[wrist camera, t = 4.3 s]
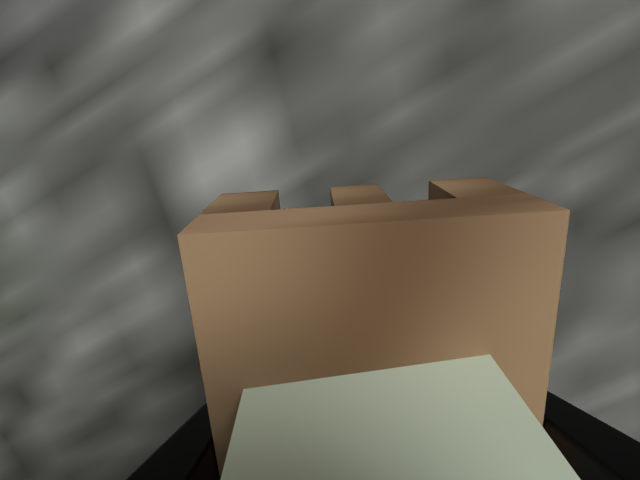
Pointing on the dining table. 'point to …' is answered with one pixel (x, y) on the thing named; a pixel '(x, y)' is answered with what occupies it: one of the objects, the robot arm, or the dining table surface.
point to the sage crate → (394, 428)
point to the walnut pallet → (372, 287)
